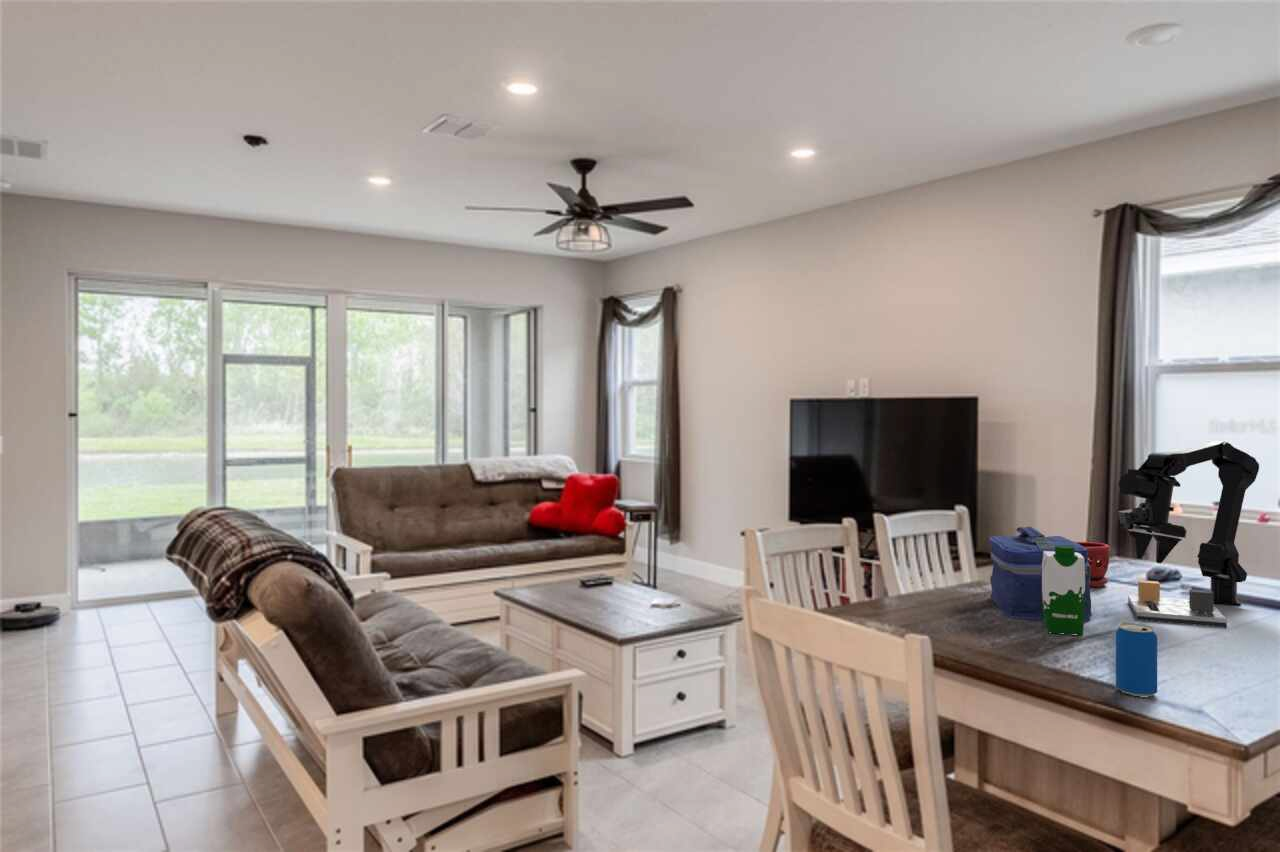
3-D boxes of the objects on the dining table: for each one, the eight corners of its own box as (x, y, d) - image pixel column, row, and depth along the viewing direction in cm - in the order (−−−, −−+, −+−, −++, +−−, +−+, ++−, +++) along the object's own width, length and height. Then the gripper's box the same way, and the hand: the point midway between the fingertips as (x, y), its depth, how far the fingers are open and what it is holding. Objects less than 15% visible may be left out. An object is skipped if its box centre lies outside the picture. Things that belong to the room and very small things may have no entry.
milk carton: (1045, 634, 189) (1045, 547, 189) (1040, 624, 198) (1039, 541, 198) (1088, 637, 187) (1088, 549, 186) (1080, 627, 195) (1080, 543, 195)
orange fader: (1138, 602, 215) (1138, 580, 215) (1157, 604, 213) (1157, 581, 213) (1139, 605, 212) (1139, 582, 212) (1159, 606, 210) (1159, 583, 210)
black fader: (1189, 613, 203) (1189, 589, 203) (1210, 614, 202) (1210, 590, 201) (1191, 615, 201) (1191, 591, 201) (1213, 617, 199) (1213, 593, 199)
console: (1128, 602, 220) (1128, 594, 220) (1209, 608, 212) (1209, 600, 212) (1137, 619, 201) (1137, 611, 201) (1226, 627, 194) (1226, 618, 194)
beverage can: (1163, 700, 146) (1163, 632, 146) (1123, 697, 147) (1123, 631, 147) (1148, 688, 152) (1148, 623, 152) (1110, 686, 154) (1110, 621, 154)
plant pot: (1110, 582, 245) (1110, 542, 245) (1108, 590, 234) (1108, 548, 234) (1061, 578, 252) (1061, 539, 252) (1056, 585, 241) (1056, 545, 241)
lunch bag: (982, 593, 233) (981, 521, 232) (1063, 596, 228) (1062, 522, 228) (1008, 620, 202) (1007, 537, 202) (1101, 624, 198) (1101, 539, 198)
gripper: (1107, 494, 223) (1098, 551, 222) (1145, 497, 204) (1135, 559, 204) (1150, 501, 222) (1141, 559, 221) (1192, 505, 203) (1182, 567, 203)
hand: (1148, 561), depth 212 cm, fingers open, 9 cm apart
